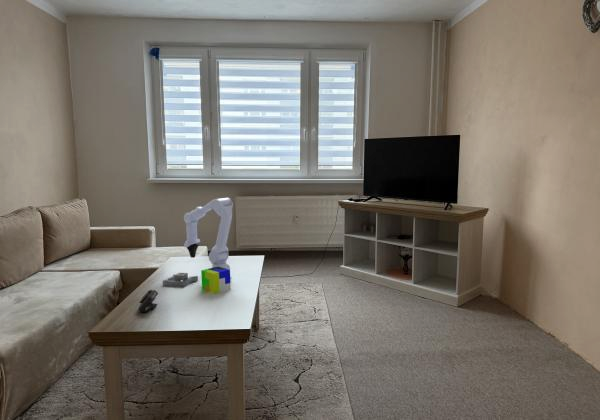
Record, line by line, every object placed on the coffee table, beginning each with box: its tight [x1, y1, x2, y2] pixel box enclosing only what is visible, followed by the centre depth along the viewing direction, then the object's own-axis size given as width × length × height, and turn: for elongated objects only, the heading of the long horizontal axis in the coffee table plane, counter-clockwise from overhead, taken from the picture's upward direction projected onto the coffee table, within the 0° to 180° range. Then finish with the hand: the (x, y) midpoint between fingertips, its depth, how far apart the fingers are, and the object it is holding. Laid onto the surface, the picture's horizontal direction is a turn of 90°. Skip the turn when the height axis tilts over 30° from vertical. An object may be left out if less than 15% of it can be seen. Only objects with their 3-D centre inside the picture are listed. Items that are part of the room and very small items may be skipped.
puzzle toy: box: [200, 267, 232, 295], centre depth 206 cm, size 10×10×10 cm
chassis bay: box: [162, 274, 199, 288], centre depth 218 cm, size 13×15×3 cm
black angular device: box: [137, 289, 159, 314], centre depth 179 cm, size 12×8×7 cm
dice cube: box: [173, 272, 189, 281], centre depth 218 cm, size 5×5×5 cm
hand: (192, 257), depth 236 cm, fingers closed
